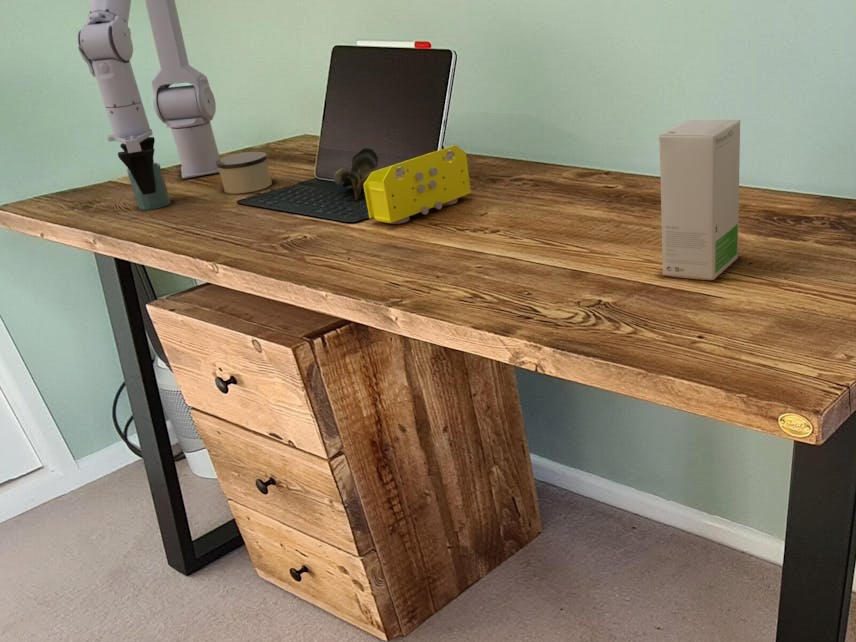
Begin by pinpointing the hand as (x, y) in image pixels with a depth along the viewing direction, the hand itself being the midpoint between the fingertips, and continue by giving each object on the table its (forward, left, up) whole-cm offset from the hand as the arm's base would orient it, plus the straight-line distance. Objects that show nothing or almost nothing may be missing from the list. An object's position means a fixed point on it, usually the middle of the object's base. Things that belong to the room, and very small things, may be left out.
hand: (149, 188), depth 153 cm
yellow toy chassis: (+35, +39, -3) cm, 52 cm away
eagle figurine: (+18, +33, -3) cm, 38 cm away
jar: (-1, +16, -3) cm, 16 cm away
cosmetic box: (+79, +61, -3) cm, 100 cm away
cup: (0, 0, -3) cm, 3 cm away
